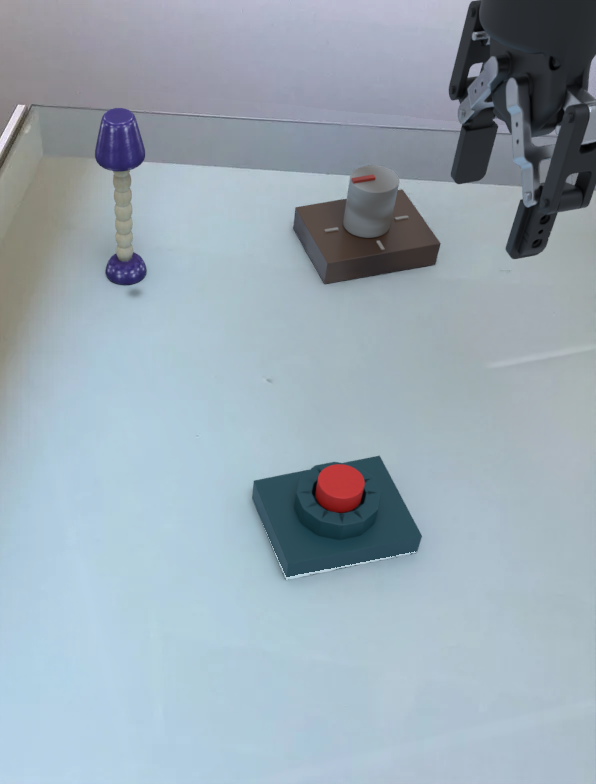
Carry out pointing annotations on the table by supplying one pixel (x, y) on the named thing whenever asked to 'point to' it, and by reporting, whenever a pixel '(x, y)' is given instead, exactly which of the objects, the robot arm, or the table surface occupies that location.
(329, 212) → the dimmer panel
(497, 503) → the table surface
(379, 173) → the dimmer knob
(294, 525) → the switch block
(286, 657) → the table surface
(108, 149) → the toy lamp
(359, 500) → the light button
